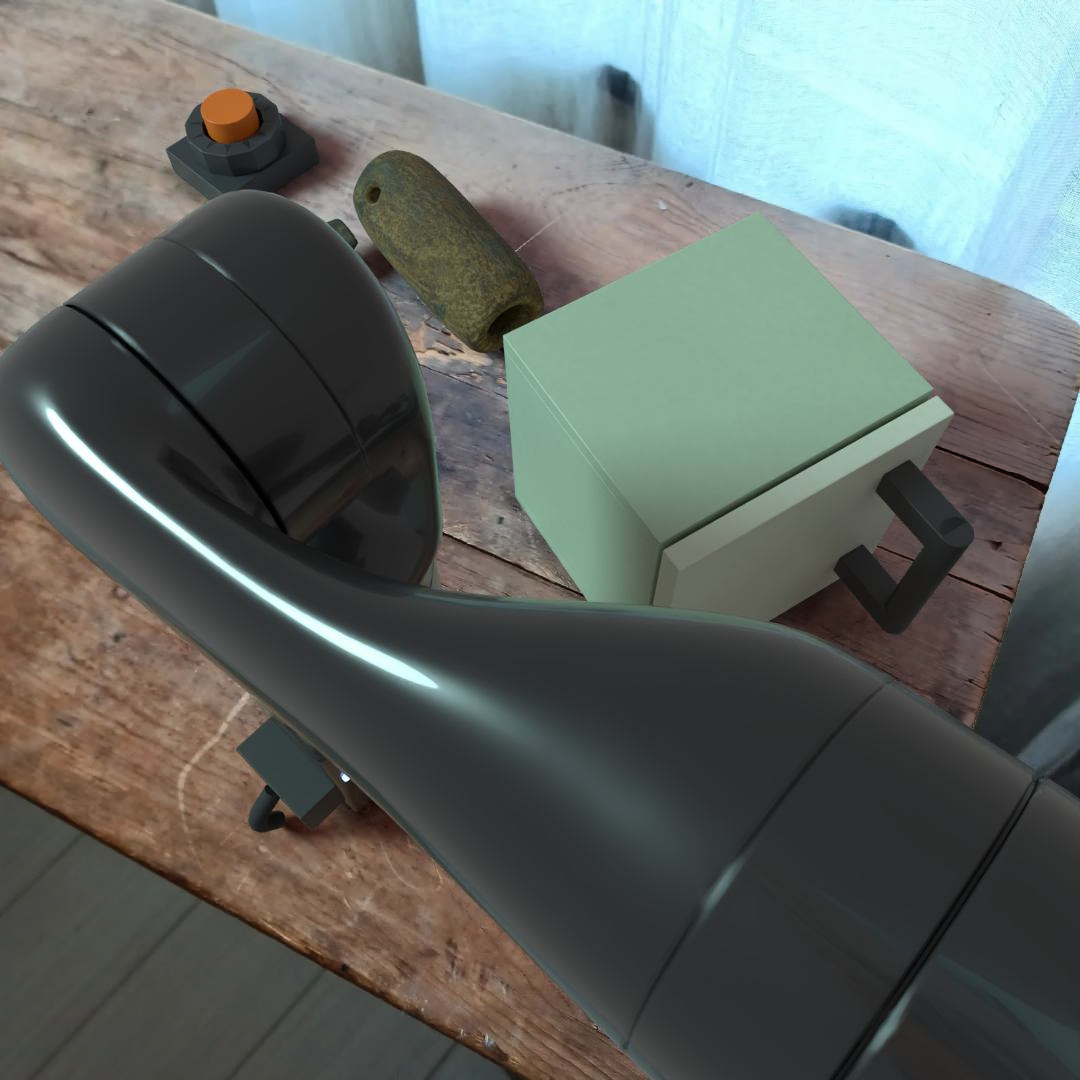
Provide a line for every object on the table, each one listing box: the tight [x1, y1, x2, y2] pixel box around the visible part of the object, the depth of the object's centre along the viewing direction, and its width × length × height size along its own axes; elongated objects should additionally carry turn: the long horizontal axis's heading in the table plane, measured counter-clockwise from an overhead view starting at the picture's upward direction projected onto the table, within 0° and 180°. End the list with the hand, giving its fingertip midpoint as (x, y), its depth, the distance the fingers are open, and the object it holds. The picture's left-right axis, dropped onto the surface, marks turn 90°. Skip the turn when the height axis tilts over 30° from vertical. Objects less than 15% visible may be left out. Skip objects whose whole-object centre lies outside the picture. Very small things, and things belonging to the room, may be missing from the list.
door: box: [653, 395, 975, 635], centre depth 50 cm, size 6×15×15 cm, turn 121°
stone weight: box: [352, 149, 545, 354], centre depth 66 cm, size 15×7×7 cm, turn 40°
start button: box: [201, 88, 260, 144], centre depth 71 cm, size 4×4×2 cm
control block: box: [165, 90, 321, 201], centre depth 73 cm, size 8×7×4 cm
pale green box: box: [503, 210, 935, 605], centre depth 54 cm, size 13×15×15 cm
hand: (1073, 730), depth 45 cm, fingers open, 8 cm apart
